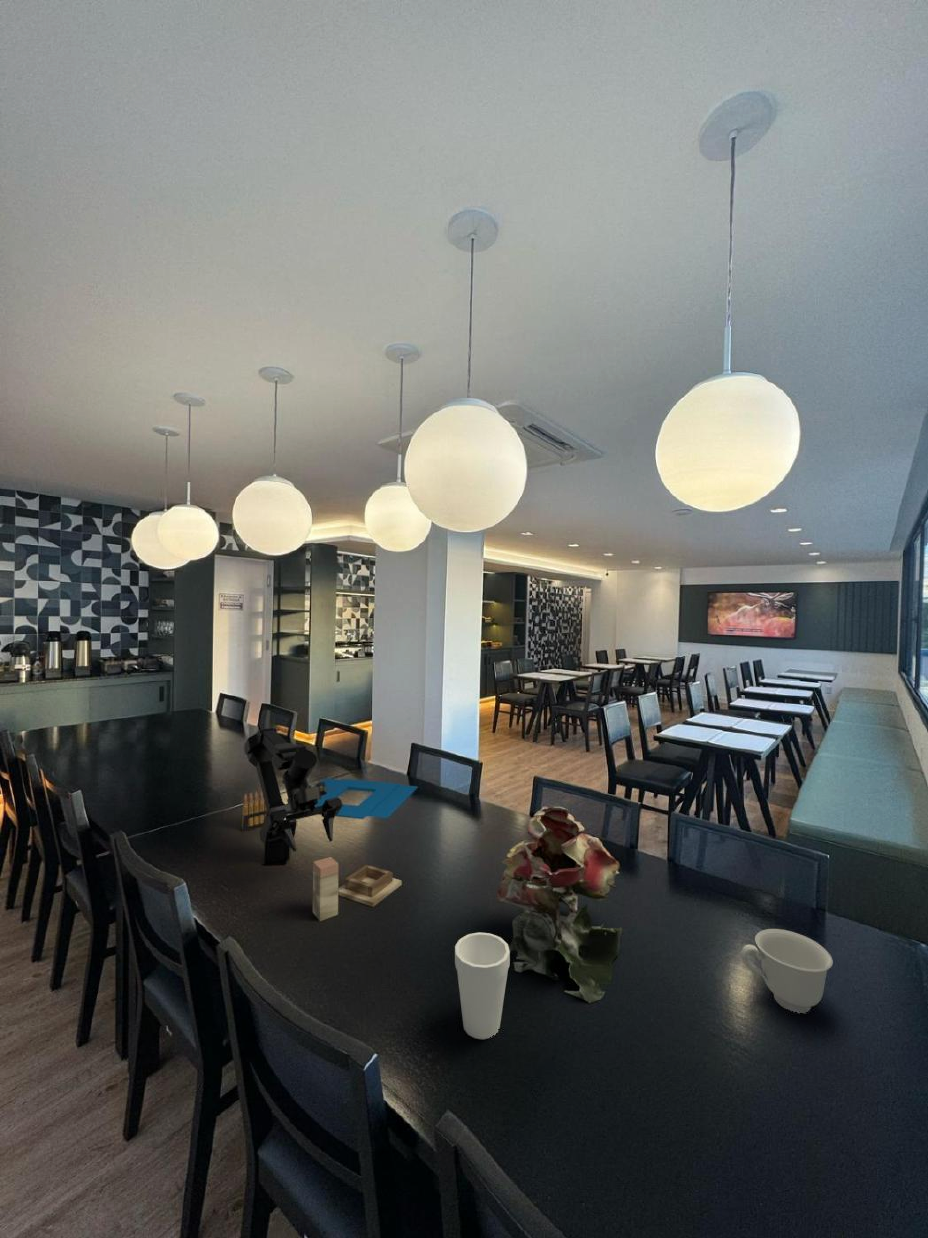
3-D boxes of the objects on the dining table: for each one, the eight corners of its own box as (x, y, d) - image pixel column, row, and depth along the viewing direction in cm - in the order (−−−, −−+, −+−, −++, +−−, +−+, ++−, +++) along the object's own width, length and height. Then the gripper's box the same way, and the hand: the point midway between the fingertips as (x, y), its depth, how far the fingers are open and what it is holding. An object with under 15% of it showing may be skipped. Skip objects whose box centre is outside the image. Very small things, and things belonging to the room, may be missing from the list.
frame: (417, 789, 212) (417, 784, 212) (384, 825, 177) (384, 820, 177) (326, 781, 222) (326, 776, 221) (277, 814, 186) (277, 808, 186)
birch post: (312, 912, 122) (313, 862, 122) (330, 906, 124) (330, 856, 124) (320, 921, 118) (320, 869, 118) (337, 914, 121) (338, 863, 121)
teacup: (728, 975, 101) (728, 925, 101) (808, 982, 100) (808, 930, 100) (756, 1023, 89) (757, 966, 89) (847, 1031, 88) (848, 973, 88)
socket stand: (335, 894, 130) (335, 880, 130) (365, 873, 140) (365, 860, 140) (373, 907, 124) (373, 892, 124) (401, 884, 135) (401, 871, 135)
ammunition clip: (242, 831, 167) (243, 795, 167) (241, 830, 168) (241, 793, 168) (275, 823, 174) (276, 788, 174) (273, 821, 175) (273, 786, 175)
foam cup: (452, 1005, 93) (453, 933, 93) (503, 1002, 94) (504, 931, 94) (456, 1049, 83) (457, 969, 83) (512, 1045, 84) (513, 966, 84)
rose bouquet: (625, 924, 118) (627, 794, 118) (606, 1012, 92) (608, 844, 92) (519, 898, 129) (520, 779, 129) (474, 971, 102) (476, 820, 102)
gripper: (269, 780, 125) (284, 840, 117) (340, 766, 137) (358, 821, 128) (258, 802, 132) (272, 862, 123) (327, 788, 143) (344, 841, 134)
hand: (313, 845), depth 127 cm, fingers open, 9 cm apart
